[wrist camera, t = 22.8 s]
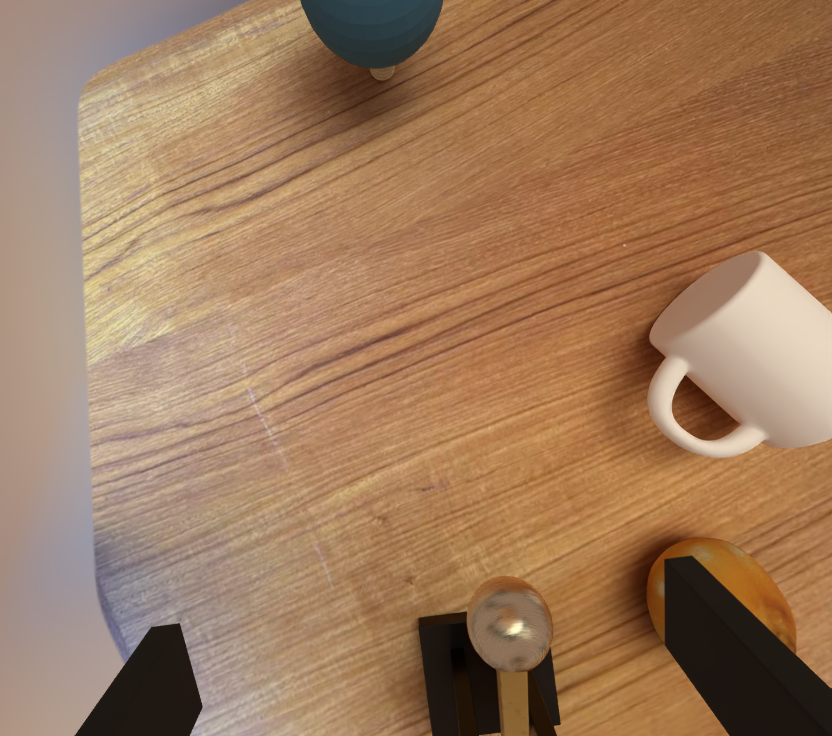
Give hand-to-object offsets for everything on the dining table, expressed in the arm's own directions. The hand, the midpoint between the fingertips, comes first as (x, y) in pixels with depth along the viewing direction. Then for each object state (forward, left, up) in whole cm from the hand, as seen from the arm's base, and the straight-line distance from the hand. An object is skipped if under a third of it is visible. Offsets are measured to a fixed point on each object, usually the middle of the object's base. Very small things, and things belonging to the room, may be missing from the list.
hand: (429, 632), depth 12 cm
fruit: (+11, +18, -21) cm, 29 cm away
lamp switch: (+8, +3, -9) cm, 12 cm away
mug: (-4, +21, -21) cm, 30 cm away
